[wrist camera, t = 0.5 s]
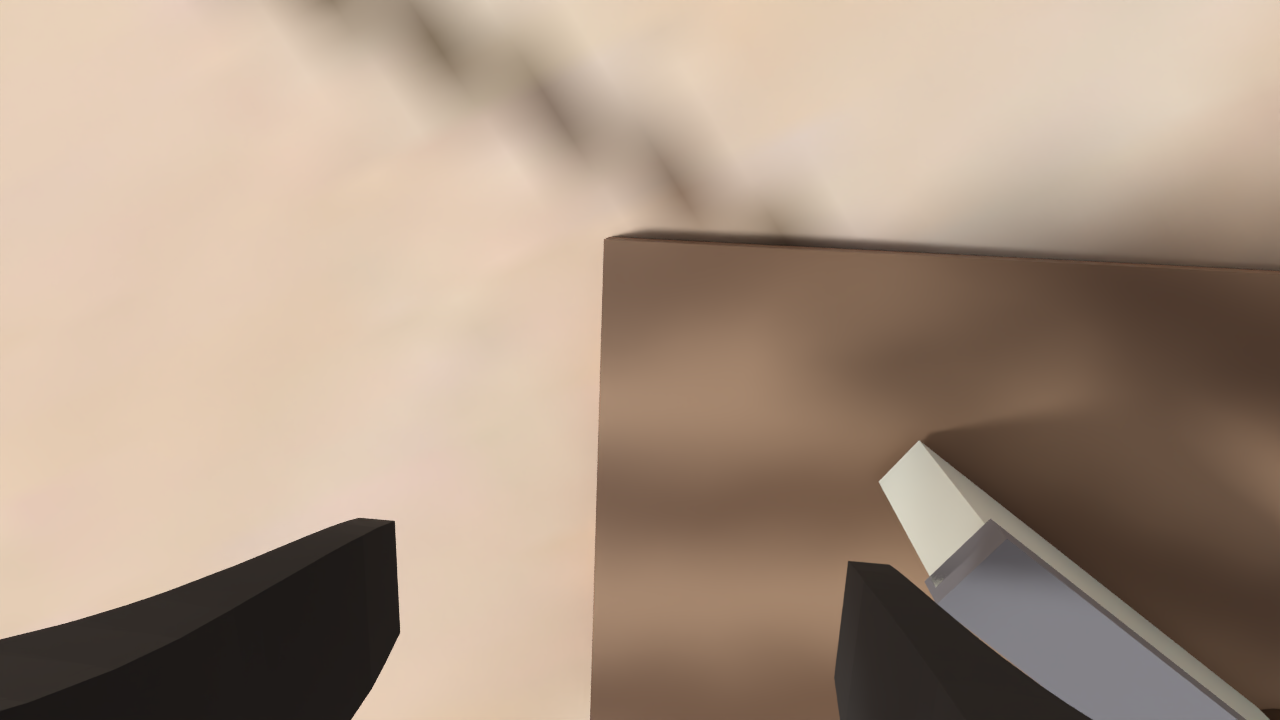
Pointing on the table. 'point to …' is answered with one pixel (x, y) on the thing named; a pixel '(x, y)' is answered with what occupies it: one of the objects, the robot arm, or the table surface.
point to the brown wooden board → (890, 426)
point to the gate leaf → (1046, 605)
